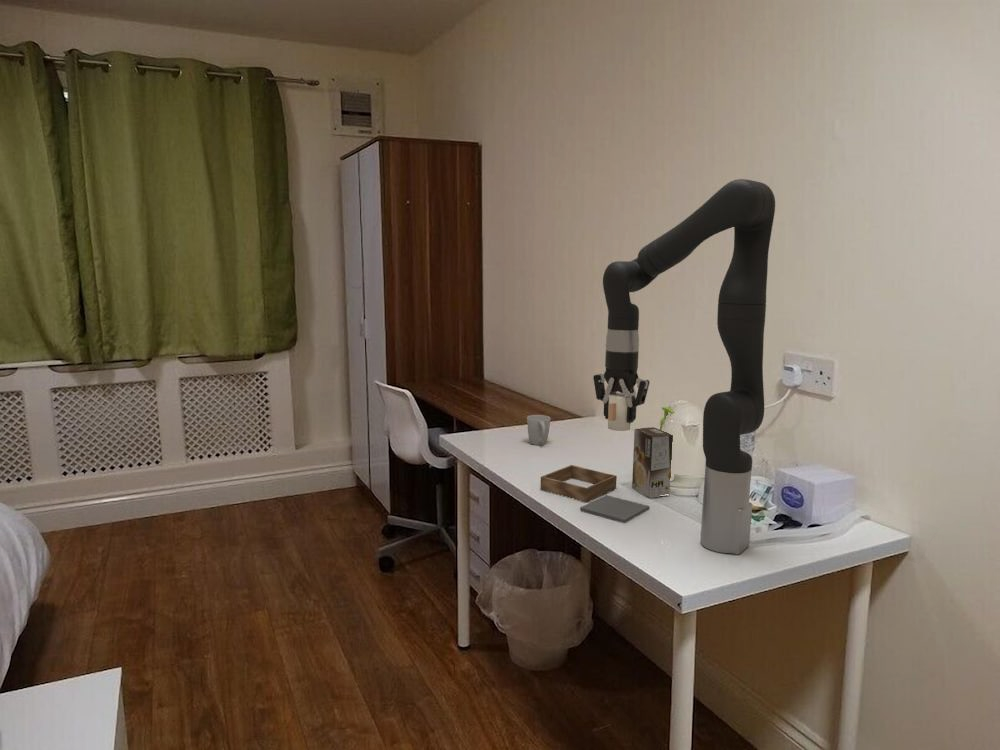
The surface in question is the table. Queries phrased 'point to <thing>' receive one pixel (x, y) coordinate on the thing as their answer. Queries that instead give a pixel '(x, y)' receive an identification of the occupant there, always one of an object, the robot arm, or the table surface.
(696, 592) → the table surface
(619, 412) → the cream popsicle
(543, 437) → the cup
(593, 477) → the holder
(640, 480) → the coffee box
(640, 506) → the mat
